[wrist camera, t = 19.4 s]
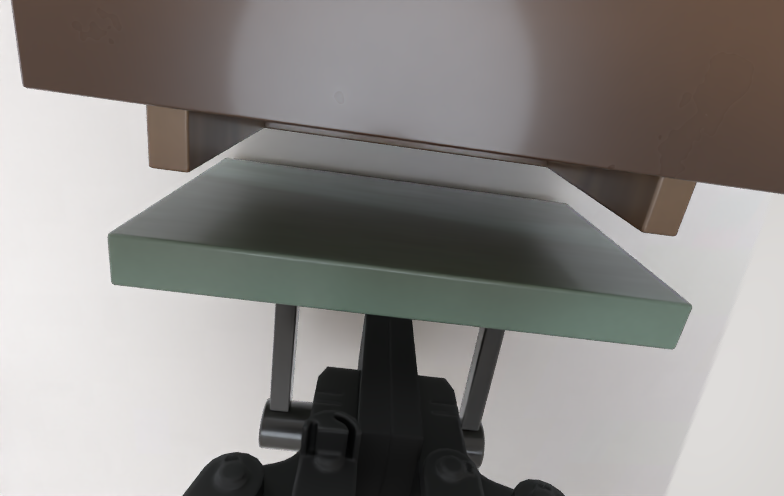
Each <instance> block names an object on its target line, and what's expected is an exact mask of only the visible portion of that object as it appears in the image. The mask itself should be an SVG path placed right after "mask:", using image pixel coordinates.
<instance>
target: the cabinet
mask: <svg viewBox="0 0 784 496" xmlns="http://www.w3.org/2000/svg"><path fill="white" fill-rule="evenodd" d="M11 4H12V12H13V19H14V26H15V33H16V41H17V48H18V55H19V63H20V70H21V77H22V84H23V86H24V87H26V88H30V89H37V90H44V91H51V92H59V93H66V94H73V95H80V96H87V97H94V98H101V99H108V100H116V101H123V102H130V103H137V104H144V105H151V106H158V107H165V108H173V109H180V110H187V111H194V112H201V113H208V114H215V115H222V116H230V117H237V118H244V119H251V120H258V121H265V122H272V123H279V124H287V125H294V126H301V127H308V128H315V129H322V130H329V131H336V132H344V133H351V134H358V135H365V136H372V137H379V138H386V139H393V140H401V141H408V142H415V143H422V144H429V145H436V146H443V147H450V148H458V149H465V150H472V151H479V152H486V153H493V154H500V155H507V156H515V157H522V158H529V159H536V160H543V161H550V162H557V163H565V164H572V165H579V166H586V167H593V168H600V169H607V170H614V171H622V172H629V173H636V174H643V175H650V176H657V177H664V178H671V179H679V180H686V181H693V182H700V183H707V184H714V185H721V186H728V187H736V188H743V189H750V190H757V191H764V192H771V193H778V194H784V0H11Z"/></svg>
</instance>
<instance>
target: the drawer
mask: <svg viewBox="0 0 784 496" xmlns="http://www.w3.org/2000/svg"><path fill="white" fill-rule="evenodd" d="M146 110H147V132H148V153H149V166H150V167H151V168H157V169H165V170H172V171H180V172H190V171H192V170H193V169H195V168H197V167H198V166H200V165H202V164H204V163H205V162H207V161H209V160H210V159H212V158H214V157H215V156H217V155H219V154H220V153H222V152H224V151H226V150H227V149H229V148H231V147H232V146H234V145H236V144H237V143H239V142H241V141H242V140H244V139H246V138H247V137H249V136H251V135H253V134H254V133H256V132H258V131H259V130H261V129H263V128H270V129H277V130H285V131H292V132H299V133H306V134H313V135H320V136H328V137H335V138H342V139H349V140H356V141H364V142H371V143H378V144H385V145H392V146H399V147H407V148H414V149H421V150H428V151H435V152H442V153H450V154H457V155H464V156H471V157H478V158H485V159H493V160H500V161H507V162H514V163H521V164H528V165H536V166H543V167H547V168H549V169H550V170H552V171H553V172H555V173H556V174H558V175H559V176H561V177H562V178H564V179H565V180H566V181H568V182H569V183H571V184H572V185H574V186H575V187H577V188H578V189H580V190H581V191H583V192H584V193H586V194H587V195H588V196H590V197H591V198H593V199H594V200H596V201H597V202H599V203H600V204H602V205H603V206H605V207H606V208H608V209H609V210H610V211H612V212H613V213H615V214H616V215H618V216H619V217H621V218H622V219H624V220H625V221H627V222H628V223H630V224H631V225H632V226H634V227H635V228H637V229H638V230H640V231H641V232H644V233H651V234H659V235H666V236H676V234H677V232H678V229H679V227H680V224H681V222H682V219H683V216H684V214H685V211H686V209H687V206H688V203H689V201H690V198H691V196H692V193H693V190H694V188H695V185H696V183H697V182H693V181H686V180H679V179H671V178H664V177H657V176H650V175H643V174H636V173H629V172H622V171H614V170H607V169H600V168H593V167H586V166H579V165H572V164H565V163H557V162H550V161H543V160H536V159H529V158H522V157H515V156H507V155H500V154H493V153H486V152H479V151H472V150H465V149H458V148H450V147H443V146H436V145H429V144H422V143H415V142H408V141H401V140H393V139H386V138H379V137H372V136H365V135H358V134H351V133H344V132H336V131H329V130H322V129H315V128H308V127H301V126H294V125H287V124H279V123H272V122H265V121H258V120H251V119H244V118H237V117H230V116H222V115H215V114H208V113H201V112H194V111H187V110H180V109H173V108H165V107H158V106H151V105H146ZM108 248H109V260H110V272H111V282H112V284H114V285H120V286H129V287H138V288H146V289H155V290H164V291H172V292H181V293H189V294H198V295H207V296H215V297H224V298H233V299H241V300H250V301H259V302H267V303H276V308H275V325H274V343H273V360H272V377H271V395H270V398H269V399H268V400H267V402H266V404H265V407H264V410H263V414H262V419H261V424H260V431H259V447H261V448H267V449H277V450H287V451H298V452H299V450H300V449H301V438H302V427H303V425H304V423H305V421H306V419H308V418H309V417H310V414H311V410H312V405H313V403H312V402H303V401H293V400H292V395H293V382H294V370H295V357H296V344H297V331H298V319H299V306H302V307H310V308H319V309H328V310H336V311H345V312H354V313H362V314H371V315H379V316H388V317H397V318H405V319H414V320H423V321H431V322H440V323H449V324H457V325H466V326H474V327H480V329H479V333H478V337H477V342H476V346H475V350H474V354H473V358H472V362H471V367H470V371H469V375H468V379H467V383H466V387H465V391H464V396H463V400H462V404H461V408H460V412H459V417H460V421H461V426H462V431H463V436H464V441H465V445H466V450H467V455H468V457H469V458H470V459H471V460H472V461H473V462H474V463H475V464H476V466H477V468H479V467H480V466H481V463H482V460H483V456H484V444H485V442H484V430H483V426H482V423H481V419H482V416H483V412H484V408H485V404H486V400H487V397H488V393H489V389H490V385H491V382H492V378H493V374H494V370H495V366H496V363H497V359H498V355H499V351H500V347H501V344H502V340H503V336H504V332H505V330H509V331H518V332H526V333H535V334H544V335H552V336H561V337H569V338H578V339H587V340H595V341H604V342H613V343H621V344H630V345H638V346H647V347H656V348H664V349H674V348H675V347H676V345H677V342H678V340H679V338H680V335H681V333H682V331H683V328H684V326H685V324H686V321H687V319H688V316H689V314H690V312H691V309H692V305H691V304H690V303H689V302H688V301H686V300H685V299H684V298H683V297H681V296H680V295H679V294H678V293H676V292H675V291H674V290H673V289H671V288H670V287H669V286H668V285H667V284H665V283H664V282H663V281H662V280H660V279H659V278H658V277H657V276H655V275H654V274H653V273H652V272H650V271H649V270H648V269H647V268H645V267H644V266H643V265H642V264H641V263H639V262H638V261H637V260H636V259H634V258H633V257H632V256H631V255H629V254H628V253H627V252H626V251H624V250H623V249H622V248H621V247H620V246H618V245H617V244H616V243H615V242H613V241H612V240H611V239H610V238H608V237H607V236H606V235H605V234H603V233H602V232H601V231H600V230H599V229H597V228H596V227H595V226H594V225H592V224H591V223H590V222H589V221H587V220H586V219H585V218H584V217H582V216H581V215H580V214H579V213H577V212H576V211H575V210H574V209H573V208H571V207H570V206H569V205H568V204H566V203H558V202H551V201H544V200H536V199H529V198H521V197H514V196H506V195H499V194H492V193H484V192H477V191H469V190H462V189H454V188H447V187H440V186H432V185H425V184H417V183H410V182H403V181H395V180H388V179H380V178H373V177H365V176H358V175H351V174H343V173H336V172H328V171H321V170H313V169H306V168H299V167H291V166H284V165H276V164H269V163H261V162H254V161H247V160H239V159H232V158H225V159H224V160H222V161H221V162H219V163H218V164H216V165H214V166H213V167H211V168H210V169H208V170H207V171H205V172H203V173H202V174H200V175H199V176H197V177H196V178H194V179H193V180H191V181H189V182H188V183H186V184H185V185H183V186H182V187H180V188H179V189H177V190H175V191H174V192H172V193H171V194H169V195H168V196H166V197H165V198H163V199H161V200H160V201H158V202H157V203H155V204H154V205H152V206H151V207H149V208H147V209H146V210H144V211H143V212H141V213H140V214H138V215H136V216H135V217H133V218H132V219H130V220H129V221H127V222H126V223H124V224H122V225H121V226H119V227H118V228H116V229H115V230H113V231H112V232H110V233H109V234H108Z"/></svg>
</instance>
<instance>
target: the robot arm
mask: <svg viewBox="0 0 784 496" xmlns="http://www.w3.org/2000/svg"><path fill="white" fill-rule="evenodd" d="M183 496H565V495H564V494H563V493H562V492H561V491H560V490H558V489H557V488H555V487H554V486H552V485H551V484H549V483H546V482H543V481H540V480H532V479H528V480H525V481H522V482H520V483H519V484H518V485H517V486H516V487H515V489H511V488H509V487H506V486H503V485H501V484H498V483H495V482H493V481H491V480H489V479H487V478H486V477H484V476H483V475H482V474H480V473H479V471H478V469H477V466H476V464H475V463H474V462H473V461H472V460H471V459H470V458H469V457H468V455H467V450H466V445H465V441H464V436H463V431H462V426H461V421H460V417H459V412H458V407H457V402H456V397H455V393H454V390H453V388H452V387H451V386H450V384H449V383H448V382H447V380H446V379H445V378H437V377H428V376H419V375H418V373H417V364H416V354H415V344H414V335H413V325H412V319H405V318H397V317H388V316H379V315H371V314H365V318H364V325H363V332H362V340H361V347H360V354H359V362H358V370H354V369H344V368H335V367H327V368H326V369H325V370H324V371H323V372H322V373H321V374H320V375H319V377H318V381H317V385H316V391H315V395H314V400H313V405H312V410H311V414H310V417H309V418H308V419H306V421H305V423H304V425H303V427H302V438H301V449H300V450H299V452H297V453H296V454H295V455H294V456H292V457H291V458H289V459H287V460H285V461H281V462H277V463H273V464H267V465H262V464H261V463H260V461H259V460H258V459H257V458H255V457H253V456H251V455H250V454H247V453H239V452H234V453H228V454H223V455H221V456H219V457H217V458H215V459H213V460H212V461H211V462H210V463H209V464H207V465H206V466H205V467H204V468H203V470H202V471H201V472H200V474H199V475H198V476H197V478H196V479H195V480H194V481H193V483H192V484H191V485H190V487H189V488H188V489H187V491H186V492H185V493H184V494H183Z"/></svg>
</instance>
